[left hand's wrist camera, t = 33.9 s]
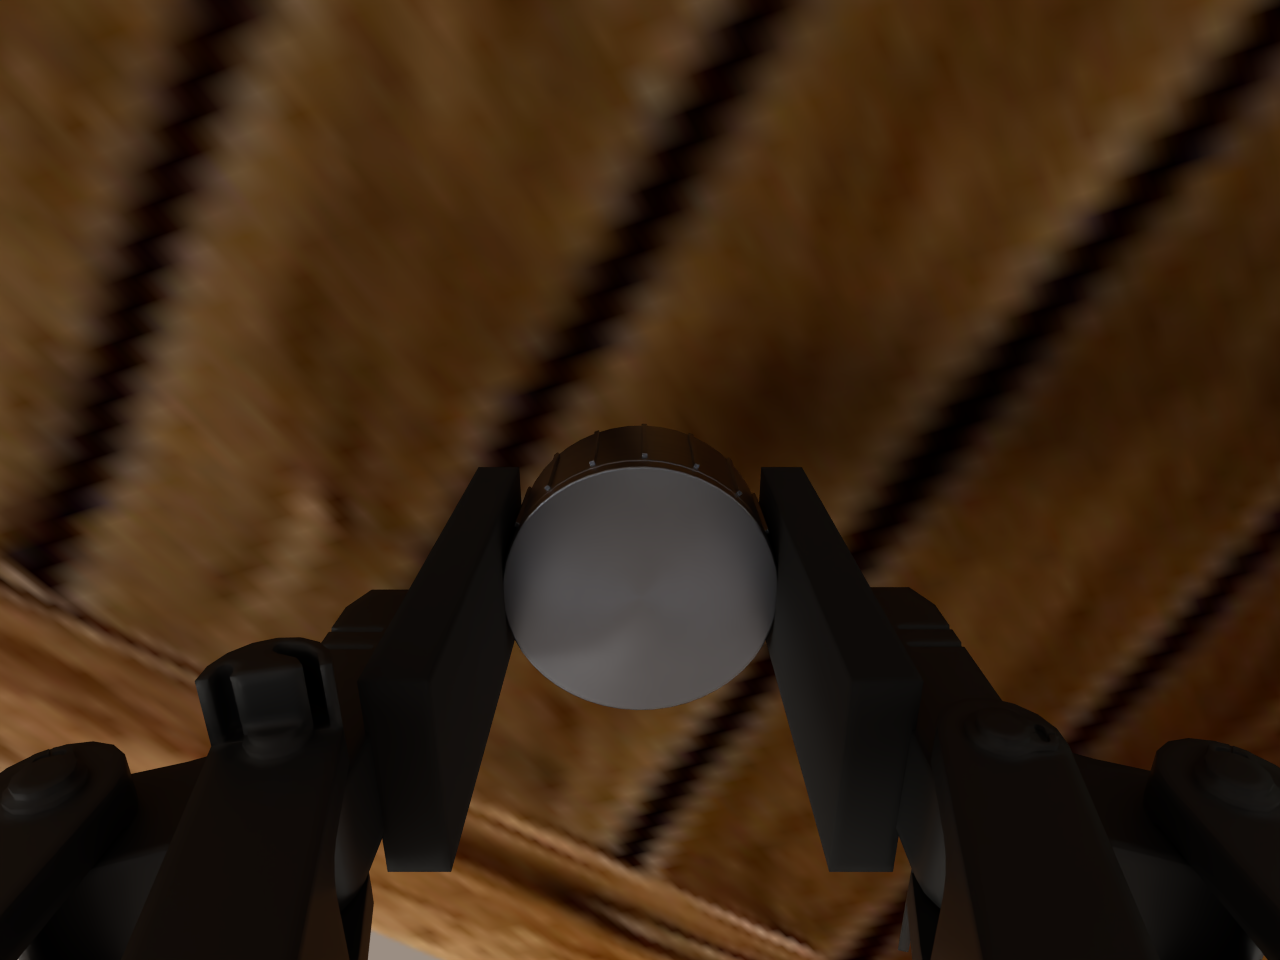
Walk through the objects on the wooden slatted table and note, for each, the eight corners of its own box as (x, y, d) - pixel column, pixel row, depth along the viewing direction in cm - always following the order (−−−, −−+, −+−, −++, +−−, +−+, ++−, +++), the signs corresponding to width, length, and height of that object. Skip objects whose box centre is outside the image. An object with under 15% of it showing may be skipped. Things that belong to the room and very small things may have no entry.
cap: (514, 417, 14) (492, 459, 12) (773, 425, 14) (797, 467, 12) (520, 639, 15) (503, 708, 13) (752, 645, 15) (769, 715, 13)
